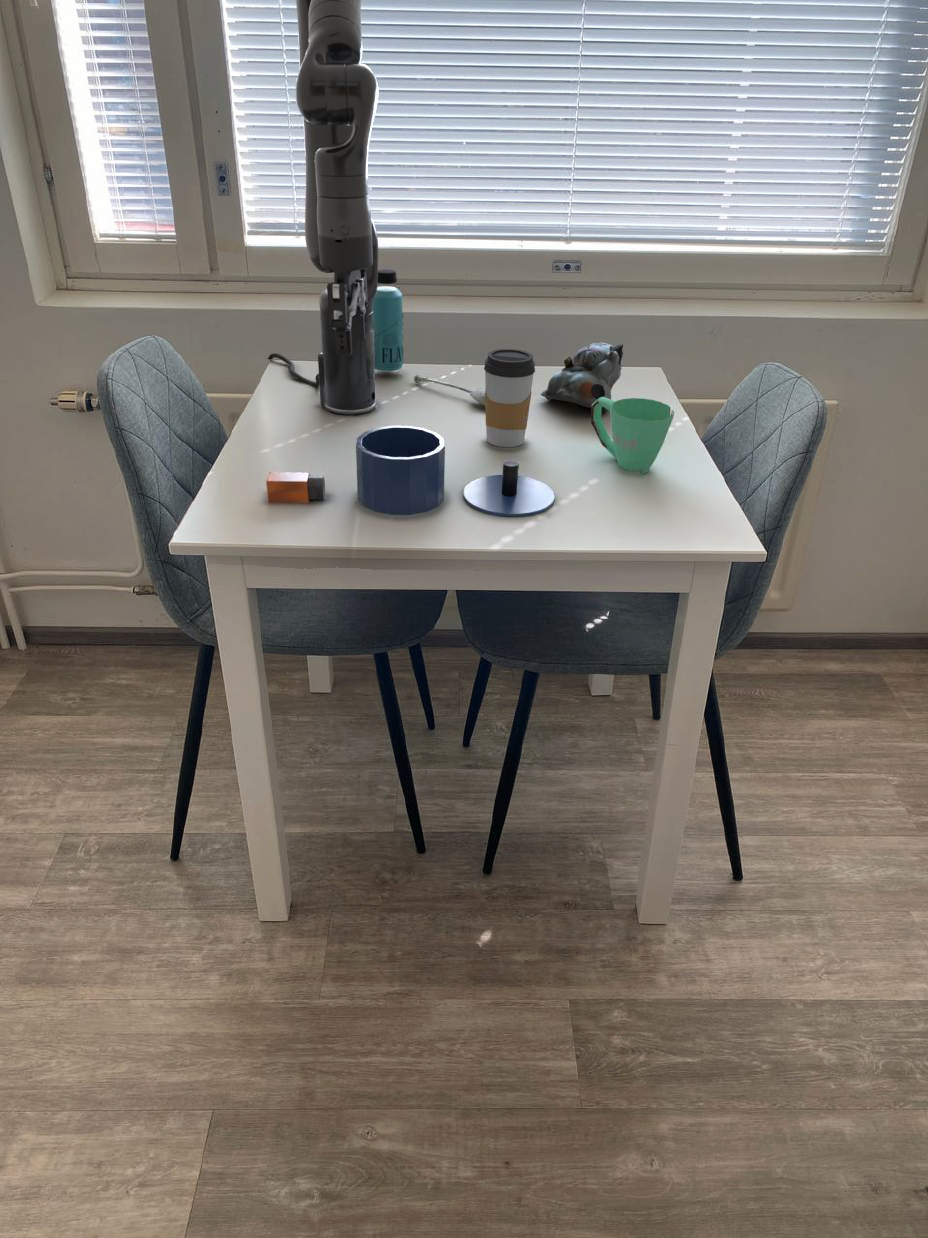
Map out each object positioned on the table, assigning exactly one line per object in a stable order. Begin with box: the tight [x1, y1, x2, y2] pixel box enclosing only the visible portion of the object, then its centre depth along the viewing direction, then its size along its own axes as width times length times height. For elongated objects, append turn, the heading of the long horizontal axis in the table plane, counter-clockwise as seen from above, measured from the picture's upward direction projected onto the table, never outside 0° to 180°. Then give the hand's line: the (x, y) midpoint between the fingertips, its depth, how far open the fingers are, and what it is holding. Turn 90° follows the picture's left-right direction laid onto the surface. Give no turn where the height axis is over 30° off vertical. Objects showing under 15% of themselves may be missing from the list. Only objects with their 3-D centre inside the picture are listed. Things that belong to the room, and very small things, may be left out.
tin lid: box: [462, 459, 556, 518], centre depth 132 cm, size 14×14×6 cm
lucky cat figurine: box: [540, 342, 624, 415], centre depth 166 cm, size 15×12×14 cm
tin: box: [355, 425, 446, 516], centre depth 130 cm, size 13×13×9 cm
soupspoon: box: [413, 374, 485, 407], centre depth 171 cm, size 22×3×7 cm
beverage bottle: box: [373, 268, 404, 372], centre depth 176 cm, size 6×7×20 cm
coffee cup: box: [483, 348, 536, 448], centre depth 148 cm, size 8×8×15 cm
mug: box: [590, 397, 675, 475], centre depth 144 cm, size 15×10×10 cm
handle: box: [265, 471, 326, 504], centre depth 131 cm, size 8×3×3 cm, turn 93°
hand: (351, 347), depth 134 cm, fingers open, 8 cm apart
